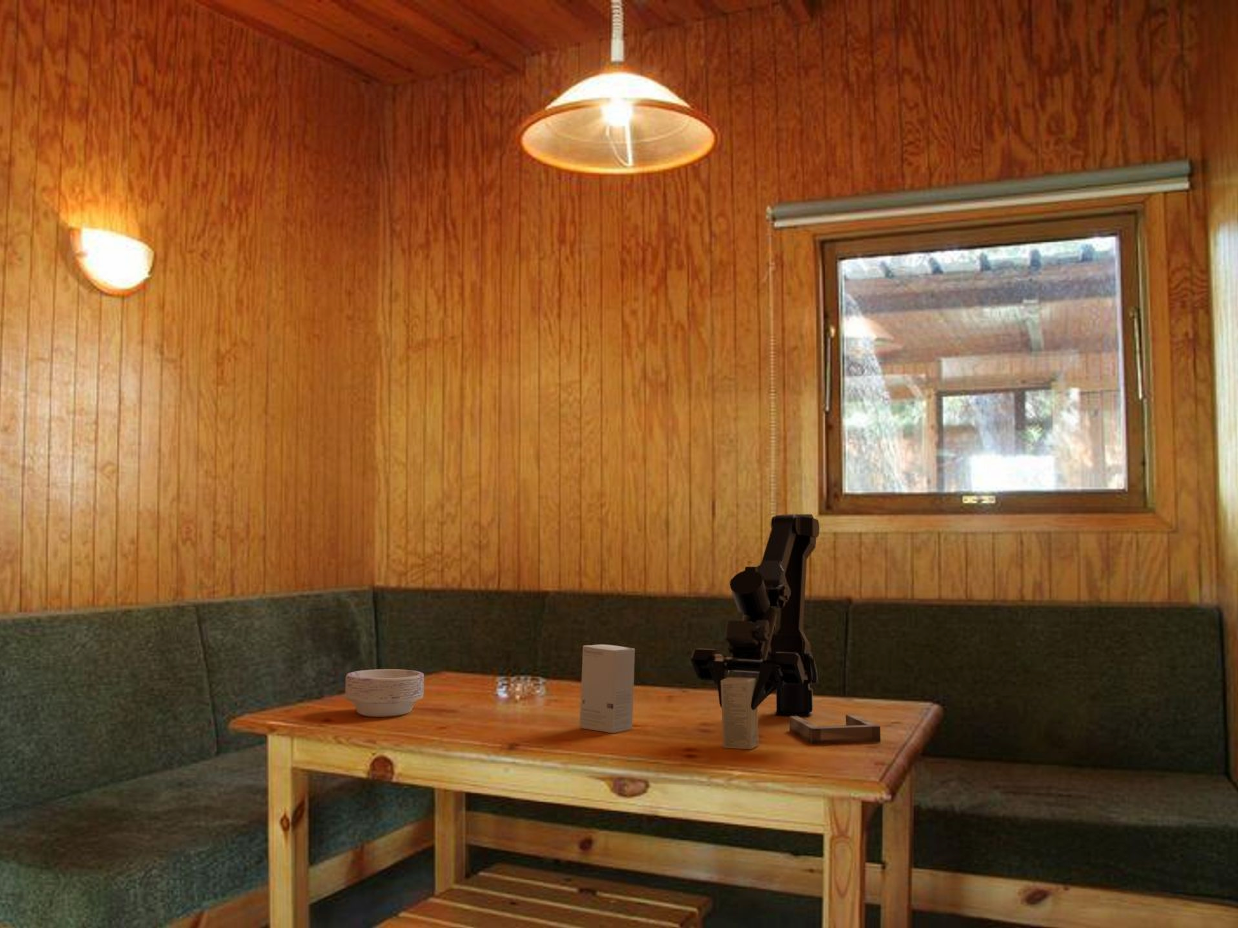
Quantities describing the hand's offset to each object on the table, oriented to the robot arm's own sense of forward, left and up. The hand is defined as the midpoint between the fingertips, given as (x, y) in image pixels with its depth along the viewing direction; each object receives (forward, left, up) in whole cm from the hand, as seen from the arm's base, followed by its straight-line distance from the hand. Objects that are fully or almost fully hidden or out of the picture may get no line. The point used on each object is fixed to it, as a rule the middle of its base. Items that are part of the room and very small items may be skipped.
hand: (736, 707), depth 171 cm
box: (0, +1, -7) cm, 7 cm away
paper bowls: (-72, +20, -7) cm, 75 cm away
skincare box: (-25, +12, -7) cm, 28 cm away
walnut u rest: (+15, +13, -7) cm, 21 cm away
